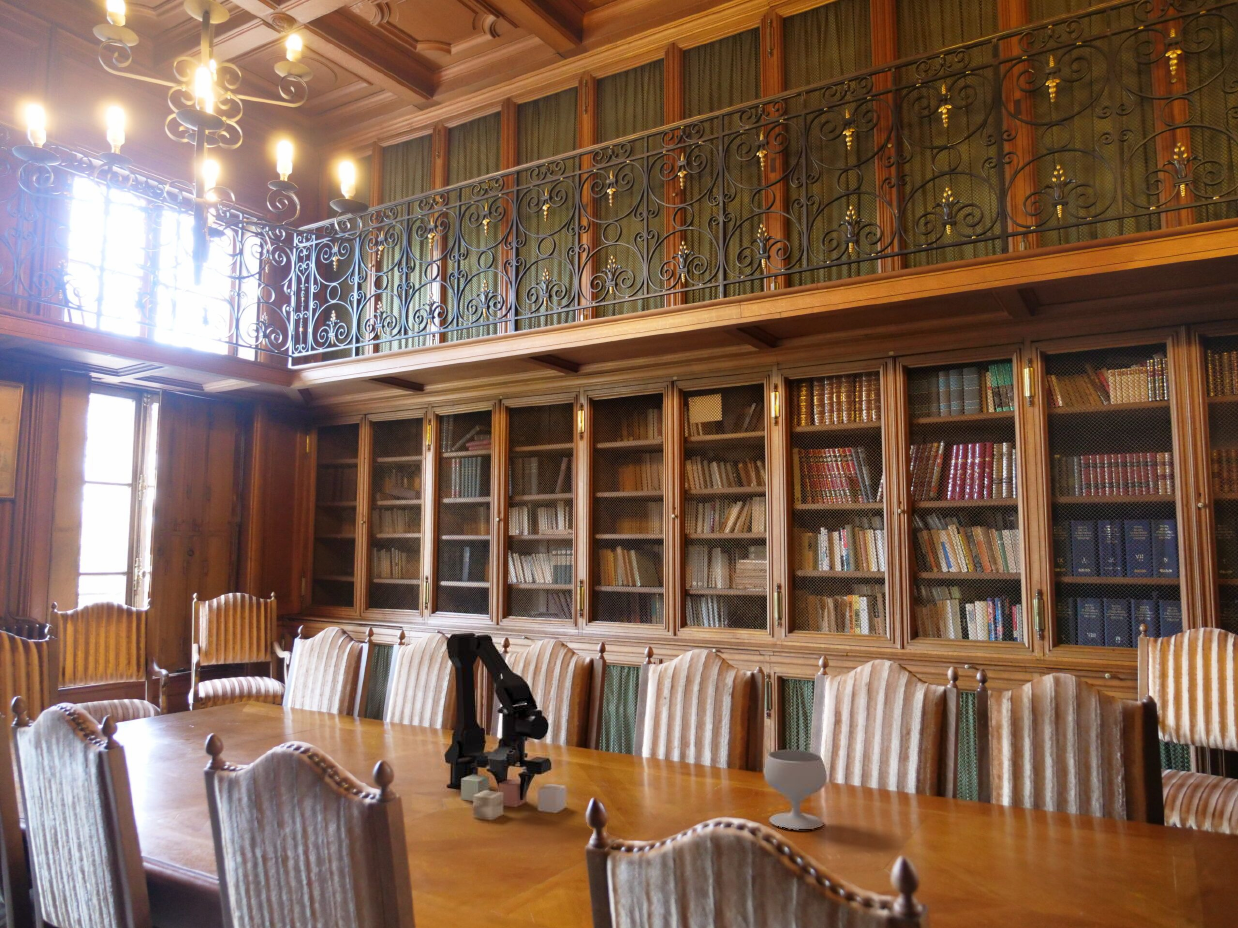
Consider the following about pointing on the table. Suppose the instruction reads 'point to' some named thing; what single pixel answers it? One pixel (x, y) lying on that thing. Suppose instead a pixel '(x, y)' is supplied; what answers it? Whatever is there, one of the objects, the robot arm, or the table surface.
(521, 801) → the brick-red block
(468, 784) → the sage green block
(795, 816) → the chalice
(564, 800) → the pale grey block
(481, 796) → the ash block
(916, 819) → the table surface
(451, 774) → the robot arm
